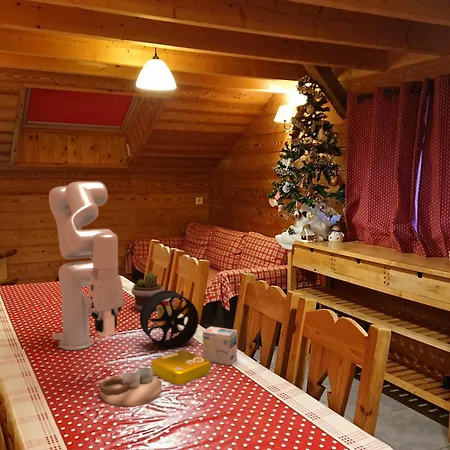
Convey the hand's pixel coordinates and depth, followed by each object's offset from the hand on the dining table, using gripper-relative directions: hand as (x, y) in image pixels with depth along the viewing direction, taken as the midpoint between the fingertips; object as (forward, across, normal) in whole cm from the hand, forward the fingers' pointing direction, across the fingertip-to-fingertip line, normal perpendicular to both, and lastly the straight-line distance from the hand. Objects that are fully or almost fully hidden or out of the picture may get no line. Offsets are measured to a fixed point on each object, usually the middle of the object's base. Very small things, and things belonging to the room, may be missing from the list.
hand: (106, 328), depth 157 cm
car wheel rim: (+17, +34, +9) cm, 39 cm away
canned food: (+17, +48, +28) cm, 58 cm away
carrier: (+16, 0, -14) cm, 21 cm away
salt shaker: (+2, 0, 0) cm, 2 cm away
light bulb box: (+17, +37, -15) cm, 43 cm away
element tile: (+17, +20, -13) cm, 29 cm away
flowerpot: (+18, +57, +52) cm, 80 cm away
